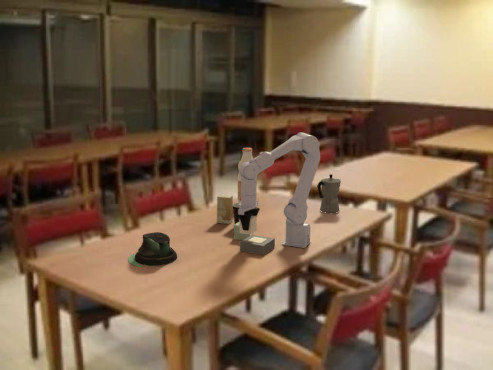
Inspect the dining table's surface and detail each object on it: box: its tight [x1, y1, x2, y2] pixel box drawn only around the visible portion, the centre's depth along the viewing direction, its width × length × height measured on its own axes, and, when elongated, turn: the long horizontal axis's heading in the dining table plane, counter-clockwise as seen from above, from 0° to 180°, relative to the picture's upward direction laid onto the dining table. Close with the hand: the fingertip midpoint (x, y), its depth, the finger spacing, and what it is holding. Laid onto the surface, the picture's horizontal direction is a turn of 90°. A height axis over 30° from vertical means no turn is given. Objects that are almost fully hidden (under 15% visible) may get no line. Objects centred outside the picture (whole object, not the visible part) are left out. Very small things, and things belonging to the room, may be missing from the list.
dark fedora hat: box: [127, 231, 178, 269], centre depth 215 cm, size 20×20×9 cm
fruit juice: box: [237, 147, 258, 203], centre depth 290 cm, size 9×9×28 cm
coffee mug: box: [232, 202, 241, 225], centre depth 252 cm, size 12×9×10 cm
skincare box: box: [216, 194, 234, 225], centre depth 260 cm, size 6×4×12 cm
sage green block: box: [233, 222, 251, 241], centre depth 240 cm, size 5×5×6 cm
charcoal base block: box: [239, 234, 276, 256], centre depth 227 cm, size 10×10×4 cm
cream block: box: [239, 216, 258, 236], centre depth 225 cm, size 5×5×6 cm
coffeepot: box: [316, 173, 342, 214], centre depth 278 cm, size 15×9×18 cm, turn 129°
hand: (248, 228), depth 226 cm, fingers closed on cream block, 5 cm apart
